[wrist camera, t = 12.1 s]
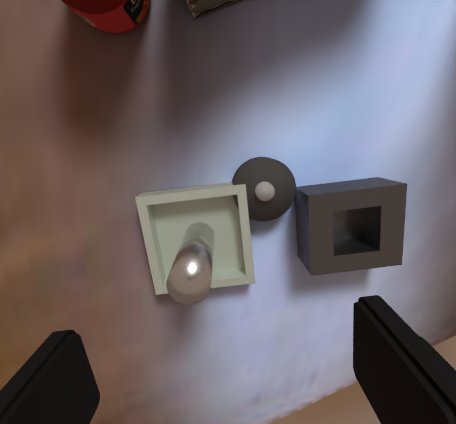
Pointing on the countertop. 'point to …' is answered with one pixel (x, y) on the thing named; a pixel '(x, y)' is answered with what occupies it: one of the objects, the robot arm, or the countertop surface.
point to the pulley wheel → (266, 187)
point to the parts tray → (192, 213)
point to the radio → (207, 6)
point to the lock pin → (192, 266)
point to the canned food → (110, 13)
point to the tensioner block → (350, 225)
